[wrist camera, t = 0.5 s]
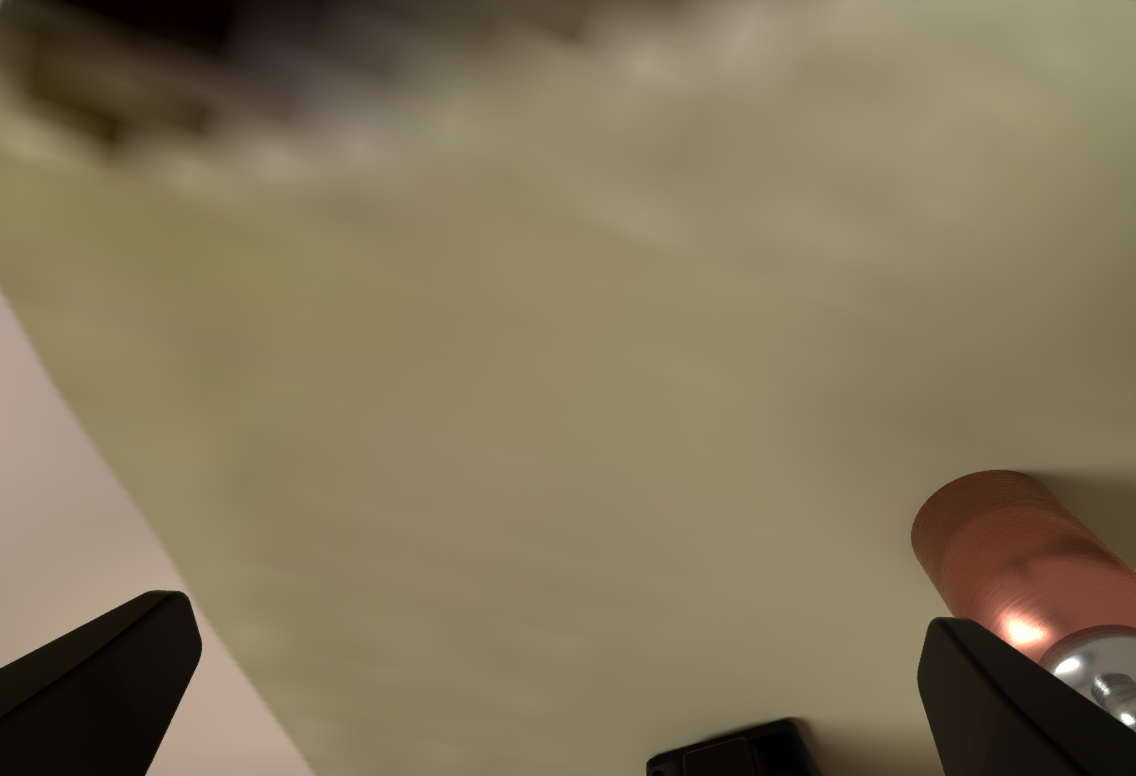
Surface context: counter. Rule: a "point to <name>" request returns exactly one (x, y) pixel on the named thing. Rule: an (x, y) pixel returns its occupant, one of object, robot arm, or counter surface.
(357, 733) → the counter surface
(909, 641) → the counter surface
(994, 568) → the spout can
